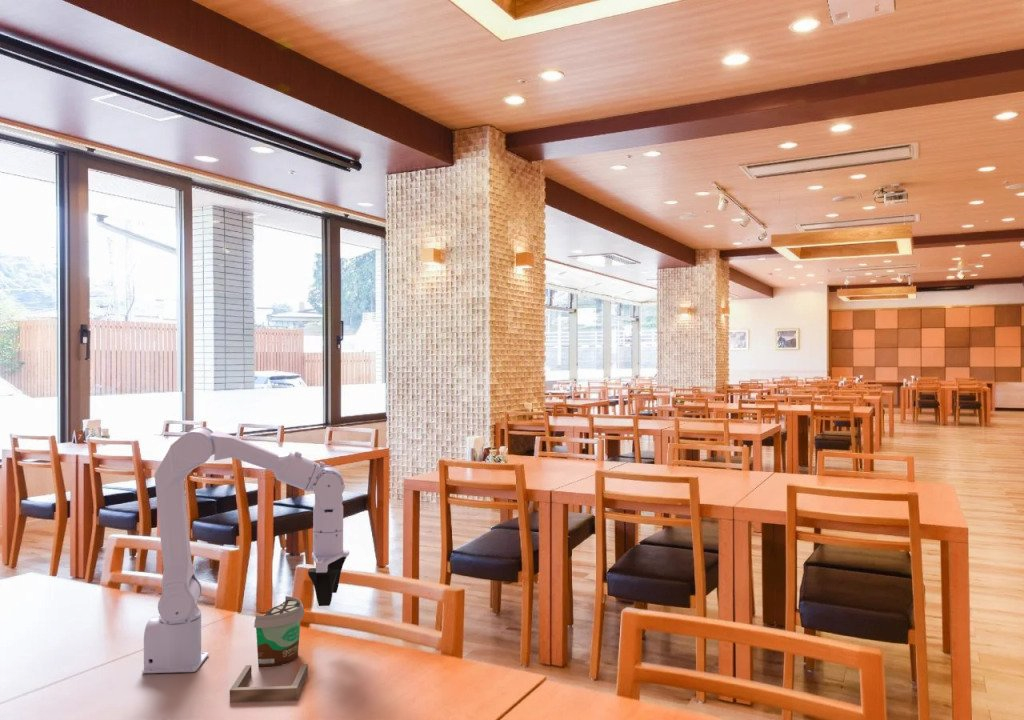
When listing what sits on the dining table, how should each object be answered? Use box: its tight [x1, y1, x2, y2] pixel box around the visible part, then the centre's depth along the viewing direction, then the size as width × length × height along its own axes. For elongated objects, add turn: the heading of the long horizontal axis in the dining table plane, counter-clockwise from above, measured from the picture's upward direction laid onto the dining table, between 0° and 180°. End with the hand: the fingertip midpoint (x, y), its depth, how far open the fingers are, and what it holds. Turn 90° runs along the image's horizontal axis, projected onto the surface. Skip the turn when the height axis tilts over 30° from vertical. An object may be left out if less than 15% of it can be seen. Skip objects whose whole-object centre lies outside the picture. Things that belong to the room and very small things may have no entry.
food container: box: [253, 595, 305, 669], centre depth 145 cm, size 12×6×10 cm, turn 168°
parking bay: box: [229, 663, 309, 703], centre depth 132 cm, size 11×10×2 cm
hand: (328, 598), depth 149 cm, fingers open, 7 cm apart
